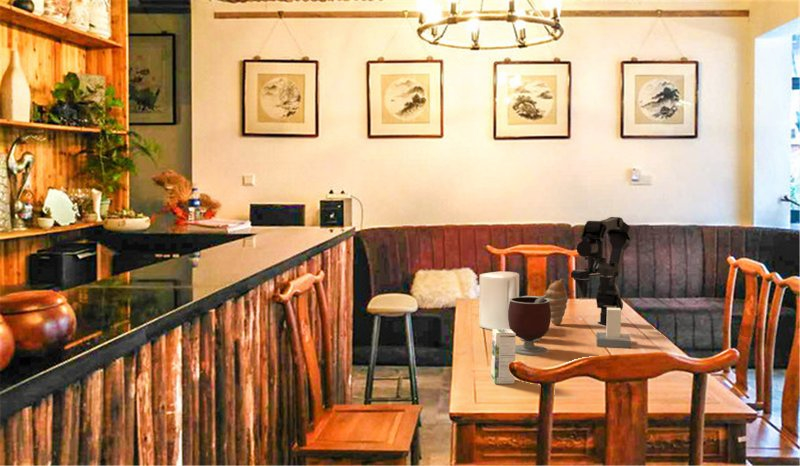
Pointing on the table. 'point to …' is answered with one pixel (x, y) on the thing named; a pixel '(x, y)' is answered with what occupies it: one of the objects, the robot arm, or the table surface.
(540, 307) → the mate gourd
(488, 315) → the paper towel roll
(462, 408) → the table surface
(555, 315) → the spiral seashell
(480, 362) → the table surface
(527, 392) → the table surface
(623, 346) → the plate
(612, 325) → the block
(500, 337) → the syrup box
